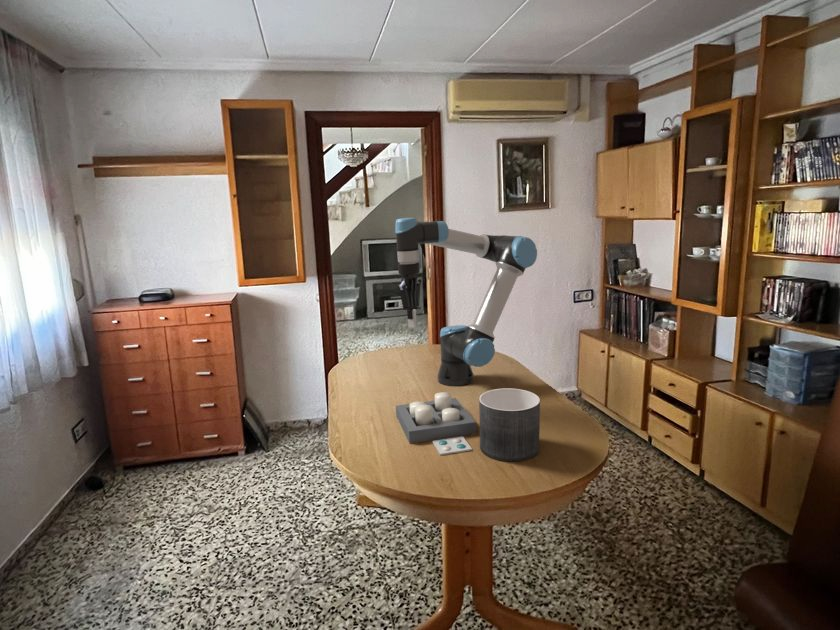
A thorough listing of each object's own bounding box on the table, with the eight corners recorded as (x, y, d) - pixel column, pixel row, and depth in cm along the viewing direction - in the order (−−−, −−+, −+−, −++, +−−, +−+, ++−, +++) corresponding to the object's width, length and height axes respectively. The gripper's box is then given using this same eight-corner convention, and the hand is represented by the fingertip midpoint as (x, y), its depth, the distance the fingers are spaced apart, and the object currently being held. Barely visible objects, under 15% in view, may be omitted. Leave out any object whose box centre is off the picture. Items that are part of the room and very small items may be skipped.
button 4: (456, 422, 175) (456, 406, 174) (461, 428, 170) (461, 413, 169) (440, 424, 174) (440, 409, 173) (445, 431, 169) (444, 415, 167)
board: (455, 408, 188) (455, 397, 187) (476, 433, 167) (475, 422, 166) (396, 416, 183) (395, 405, 182) (409, 443, 162) (409, 431, 161)
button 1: (424, 415, 182) (423, 400, 180) (428, 421, 176) (427, 406, 175) (408, 417, 180) (407, 402, 179) (412, 424, 175) (411, 408, 174)
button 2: (430, 419, 173) (429, 403, 171) (434, 426, 167) (434, 410, 166) (414, 421, 171) (413, 406, 170) (418, 428, 166) (417, 412, 165)
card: (462, 437, 165) (462, 435, 164) (472, 450, 156) (472, 448, 156) (432, 442, 162) (432, 440, 162) (440, 455, 154) (440, 453, 154)
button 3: (448, 406, 183) (448, 391, 182) (453, 412, 178) (452, 396, 177) (433, 408, 182) (432, 393, 181) (437, 414, 177) (437, 399, 175)
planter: (541, 463, 147) (541, 411, 143) (478, 460, 150) (477, 409, 147) (538, 435, 164) (538, 388, 160) (481, 433, 167) (480, 387, 164)
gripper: (408, 259, 190) (412, 322, 195) (389, 265, 179) (394, 330, 184) (426, 260, 186) (430, 323, 192) (408, 265, 175) (412, 332, 181)
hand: (412, 327), depth 188 cm, fingers closed
